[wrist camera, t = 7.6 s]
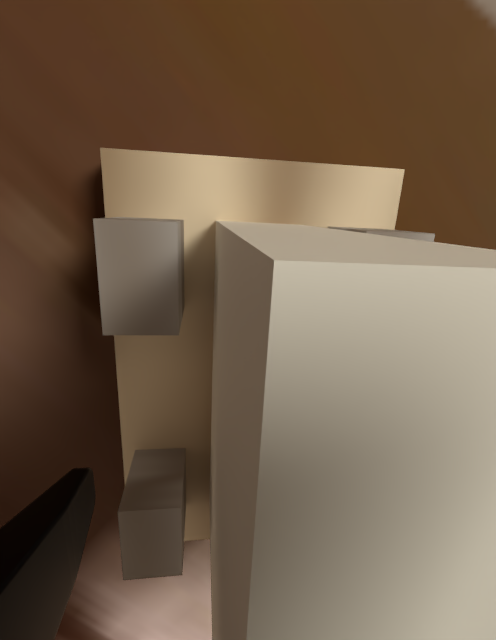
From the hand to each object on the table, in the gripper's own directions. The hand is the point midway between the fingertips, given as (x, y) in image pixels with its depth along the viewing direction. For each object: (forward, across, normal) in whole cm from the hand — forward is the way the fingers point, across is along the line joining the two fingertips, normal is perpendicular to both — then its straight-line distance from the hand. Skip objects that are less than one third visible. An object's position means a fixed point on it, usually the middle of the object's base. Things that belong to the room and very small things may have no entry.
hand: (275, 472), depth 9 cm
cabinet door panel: (+5, 0, 0) cm, 5 cm away
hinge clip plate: (+6, 0, 0) cm, 6 cm away
